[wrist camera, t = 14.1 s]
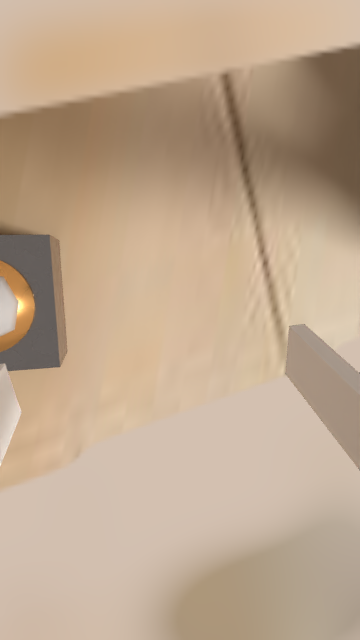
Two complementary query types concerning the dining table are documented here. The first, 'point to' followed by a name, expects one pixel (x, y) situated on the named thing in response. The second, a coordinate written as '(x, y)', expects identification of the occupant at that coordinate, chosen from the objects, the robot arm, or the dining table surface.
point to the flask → (7, 308)
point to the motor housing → (34, 302)
